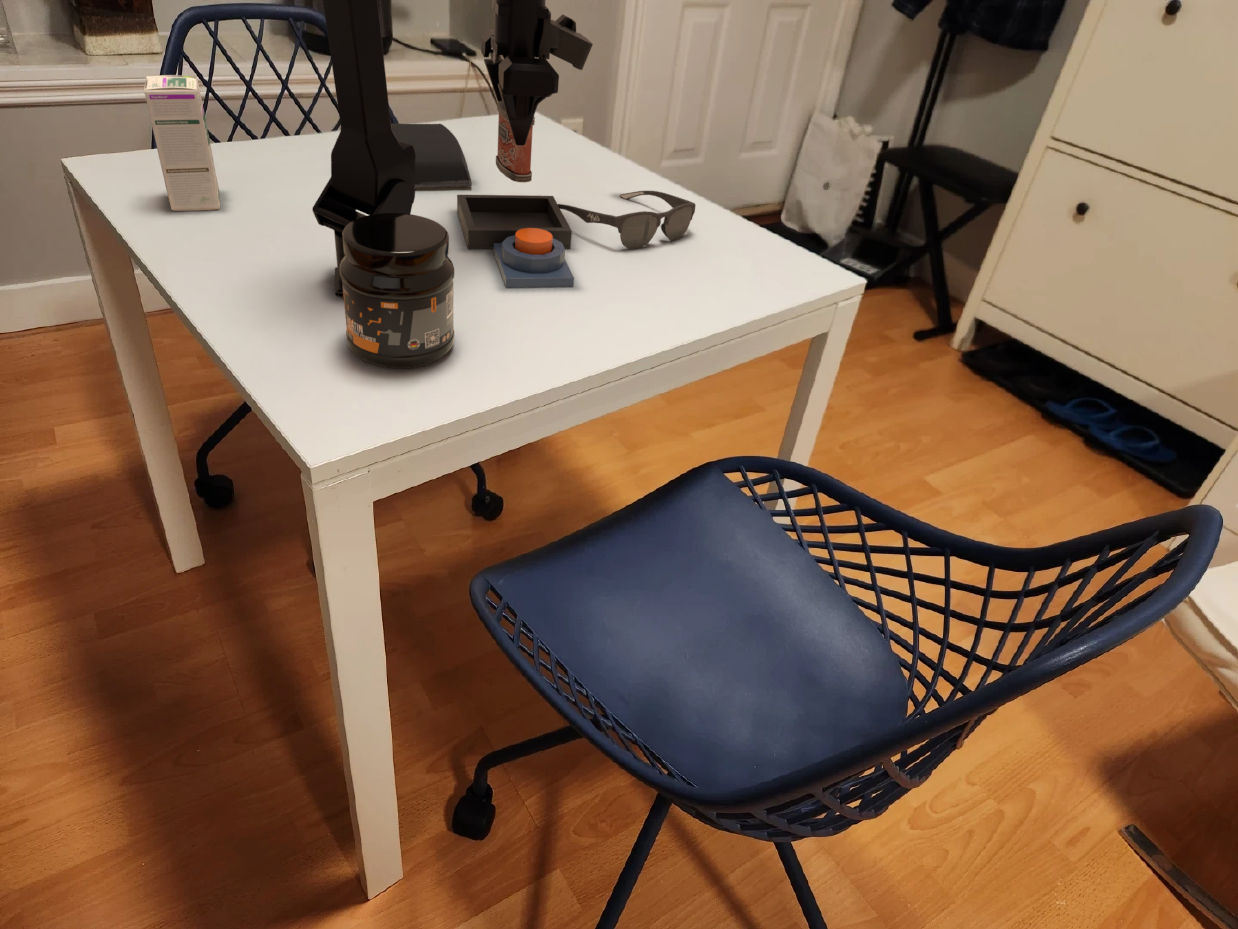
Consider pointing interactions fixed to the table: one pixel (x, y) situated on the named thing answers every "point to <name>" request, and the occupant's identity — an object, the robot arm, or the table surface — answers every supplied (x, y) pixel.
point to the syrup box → (182, 142)
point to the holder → (509, 218)
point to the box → (532, 266)
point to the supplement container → (397, 289)
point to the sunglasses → (643, 219)
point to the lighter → (513, 150)
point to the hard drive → (435, 155)
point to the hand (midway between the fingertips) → (514, 134)
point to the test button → (533, 241)
